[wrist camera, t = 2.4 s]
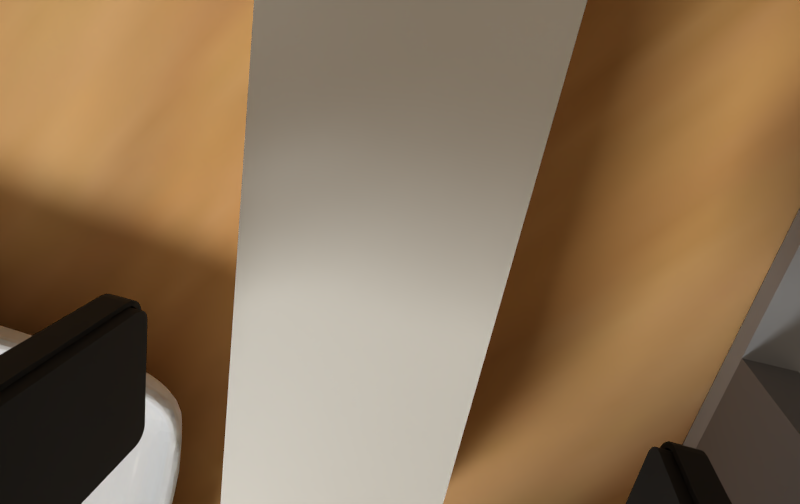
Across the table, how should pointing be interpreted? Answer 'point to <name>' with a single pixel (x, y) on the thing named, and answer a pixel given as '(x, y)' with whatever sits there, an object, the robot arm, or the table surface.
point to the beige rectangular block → (379, 235)
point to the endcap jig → (759, 393)
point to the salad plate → (138, 447)
